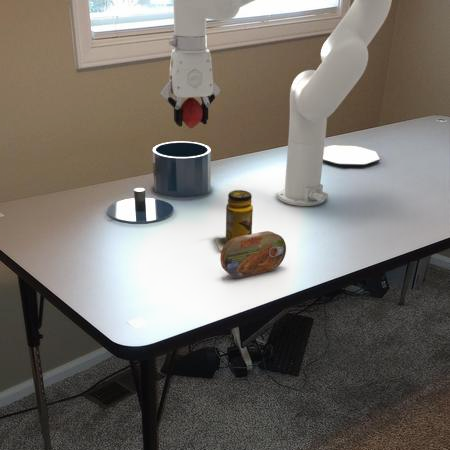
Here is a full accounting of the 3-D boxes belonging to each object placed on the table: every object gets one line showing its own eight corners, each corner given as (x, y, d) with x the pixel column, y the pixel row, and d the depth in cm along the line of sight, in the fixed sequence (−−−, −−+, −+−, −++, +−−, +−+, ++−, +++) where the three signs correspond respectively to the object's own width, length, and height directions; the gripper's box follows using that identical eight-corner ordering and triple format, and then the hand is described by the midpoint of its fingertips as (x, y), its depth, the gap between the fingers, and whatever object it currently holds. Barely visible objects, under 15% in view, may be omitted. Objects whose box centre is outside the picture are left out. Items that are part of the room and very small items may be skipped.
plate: (382, 169, 201) (383, 164, 200) (319, 167, 201) (319, 162, 200) (372, 150, 216) (372, 146, 215) (313, 149, 216) (313, 144, 215)
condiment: (256, 249, 151) (258, 197, 143) (220, 251, 149) (221, 200, 142) (248, 236, 156) (250, 186, 149) (213, 239, 155) (214, 189, 147)
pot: (221, 192, 181) (222, 151, 174) (174, 203, 173) (173, 161, 167) (189, 177, 191) (189, 138, 184) (144, 187, 183) (141, 147, 177)
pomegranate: (203, 125, 167) (203, 92, 163) (201, 131, 163) (201, 97, 158) (181, 125, 168) (180, 91, 163) (178, 130, 163) (177, 96, 158)
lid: (186, 216, 166) (185, 192, 162) (129, 231, 158) (127, 206, 154) (151, 197, 176) (150, 174, 173) (96, 210, 168) (93, 186, 165)
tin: (224, 281, 137) (225, 243, 132) (217, 275, 139) (218, 238, 134) (285, 268, 142) (288, 231, 137) (278, 262, 145) (280, 226, 140)
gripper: (160, 47, 148) (163, 130, 159) (230, 44, 154) (228, 125, 165) (150, 42, 154) (154, 123, 165) (218, 40, 159) (217, 118, 170)
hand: (191, 123), depth 165 cm, fingers closed on pomegranate, 5 cm apart
